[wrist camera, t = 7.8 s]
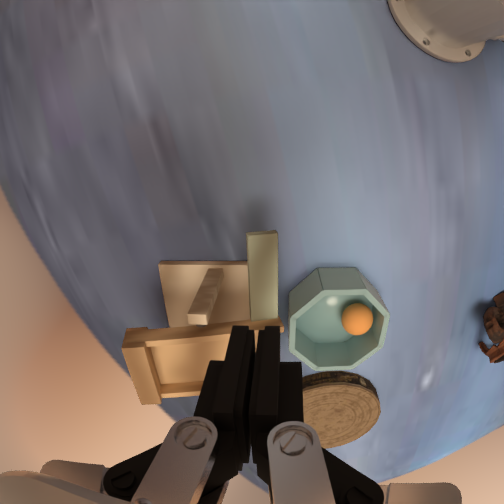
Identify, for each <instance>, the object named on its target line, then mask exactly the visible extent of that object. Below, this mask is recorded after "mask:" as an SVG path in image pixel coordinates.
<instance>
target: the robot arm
mask: <svg viewBox="0 0 504 504" xmlns="http://www.w3.org/2000/svg"><path fill="white" fill-rule="evenodd" d="M388 4H389V7H390V11H391V13H392V15H393V17H394V19H395V21H396V23H397V24H398V26H399V27H400V29H401V30H402V31H403V32H404V34H405V35H406V36H407V37H408V38H409V39H410V40H411V41H412V42H413V43H414V44H415V45H416V46H417V47H419V48H420V49H422V50H423V51H424V52H426V53H427V54H429V55H431V56H433V57H435V58H437V59H440V60H443V61H446V62H453V63H458V62H465V61H469V60H471V59H473V58H475V57H477V56H478V55H479V54H480V53H481V51H482V50H483V48H484V46H485V42H486V40H489V39H492V40H497V39H499V40H501V41H503V42H504V0H388ZM423 42H424V43H423ZM251 446H252V456H253V463H254V464H257V475H258V476H259V477H260V478H261V479H262V480H263V481H264V482H265V483H267V484H268V488H269V497H270V504H462V497H461V493H460V490H459V489H458V488H457V487H456V486H455V485H453V484H451V483H390V484H389V485H378V484H377V483H376V482H375V481H373V480H371V479H370V478H368V477H367V476H365V475H363V474H362V473H360V472H359V471H357V470H355V469H354V468H352V467H351V466H349V465H348V464H346V463H345V462H343V461H342V460H340V459H339V458H337V457H336V456H334V455H333V454H331V453H330V452H328V451H327V450H326V449H324V448H323V447H321V444H320V440H319V436H318V434H317V432H316V431H315V430H314V429H313V428H312V427H311V426H310V425H308V424H306V423H304V412H303V385H302V364H301V362H280V326H265V329H264V330H259V332H258V340H257V348H255V331H254V330H249V326H243V325H233V326H232V330H231V334H230V338H229V343H228V347H227V351H226V355H225V359H224V361H221V360H210V362H209V364H208V368H207V371H206V375H205V378H204V381H203V385H202V388H201V392H200V395H199V399H198V402H197V406H196V409H195V412H194V416H193V417H186V418H183V419H181V420H179V421H178V422H176V423H175V424H174V425H173V426H172V427H171V429H170V430H169V432H168V434H167V436H166V438H165V440H164V442H163V443H161V444H159V445H157V446H155V447H153V448H151V449H149V450H147V451H145V452H143V453H141V454H138V455H136V456H134V457H132V458H130V459H127V460H125V461H123V462H121V463H118V464H116V465H114V466H113V467H111V468H105V466H104V465H96V464H86V463H77V462H69V461H63V460H51V461H49V462H47V463H46V464H45V465H43V467H42V469H41V471H40V473H38V472H32V471H8V472H4V473H2V474H0V504H222V501H223V498H224V495H225V493H226V490H227V487H228V484H229V480H230V479H231V478H233V477H234V476H236V475H238V471H242V466H243V463H249V457H250V449H251Z"/></svg>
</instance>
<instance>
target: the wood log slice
mask: <svg viewBox="0 0 504 504" xmlns="http://www.w3.org/2000/svg"><path fill="white" fill-rule="evenodd" d="M302 385H303V412H304V423H306V424H308V425H310V426H311V427H312V428H313V429H314V430H315V431H316V432H317V434H318V436H319V440H320V444H321V447H323V448H324V449H325V448H332V447H336V446H341V445H344V444H347V443H349V442H352V441H354V440H356V439H358V438H360V437H361V436H363V435H364V434H365V433H367V432H368V431H369V430H370V429H371V428H372V427H373V426H374V425H375V424H376V422H377V420H378V418H379V415H380V413H381V410H380V402H379V399H378V395H377V392H376V389H375V387H374V386H373V385H372V384H371V382H370V381H369V380H368V379H366V378H364V377H362V376H360V375H358V374H355V373H350V372H345V371H326V372H320V373H316V374H312V375H308V376H305V377H303V378H302Z"/></svg>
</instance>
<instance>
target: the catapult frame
mask: <svg viewBox="0 0 504 504" xmlns="http://www.w3.org/2000/svg"><path fill="white" fill-rule="evenodd" d="M158 266H159V272H160V278H161V284H162V290H163V295H164V301H165V306H166V312H167V317H168V322H169V327H170V328H172V327H184V326H194V325H196V324H200V325H207V324H214V323H223V322H232V321H240V320H249V319H250V309H249V286H248V263H247V261H161V262H160V263H159V264H158Z"/></svg>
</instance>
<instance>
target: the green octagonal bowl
mask: <svg viewBox="0 0 504 504" xmlns="http://www.w3.org/2000/svg"><path fill="white" fill-rule="evenodd" d="M354 303H362V304H364V305H366V306H367V307H369V308H370V310H371V312H372V314H373V323H372V326H371V328H370V329H369V330H368V331H367V332H366V333H364V334H362V335H352V334H350V333H348V332H347V331H346V330H345V329H344V328H343V325H342V321H341V318H342V314H343V312H344V310H345V309H346V308H347V307H348V306H349V305H351V304H354ZM389 318H390V313H389V311H388V310H387V308H386V306H385V304H384V302H383V300H382V298H381V296H380V295H379V293H378V291H377V290H376V289H375V288H374V287H373V285H372V284H371V283H370V282H369V281H368V280H367V279H366V278H365V277H364V276H363V275H362V274H361V273H360V272H359V270H358V269H357V268H318V269H315V270H314V271H313V272H312V273H311V274H310V275H309V276H308V277H306V278H305V279H304V280H303V281H302V282H301V283H300V284H298V285H297V286H296V287H295V288H294V289H293V290H291V291H290V292H289V308H288V337H289V351H290V352H291V353H292V354H294V355H295V356H296V357H298V358H299V359H300V360H301V361H303V362H304V363H305V364H307V365H308V366H309V367H311V368H312V369H313V370H316V371H328V370H349V369H354V368H355V367H356V366H358V365H359V364H361V363H362V362H363V361H365V360H366V359H368V358H369V357H370V356H372V355H373V354H374V353H376V352H377V351H378V350H380V349H381V348H382V347H383V344H384V340H385V336H386V331H387V327H388V322H389Z"/></svg>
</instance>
